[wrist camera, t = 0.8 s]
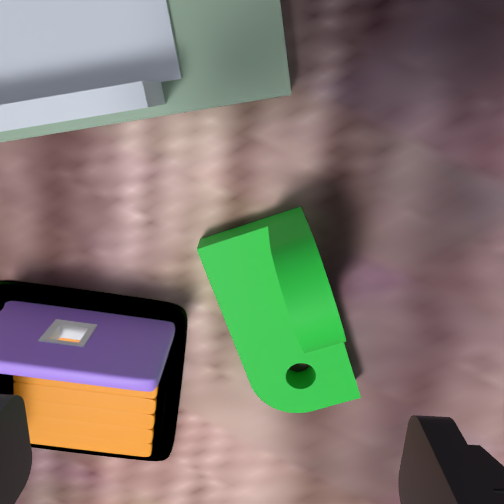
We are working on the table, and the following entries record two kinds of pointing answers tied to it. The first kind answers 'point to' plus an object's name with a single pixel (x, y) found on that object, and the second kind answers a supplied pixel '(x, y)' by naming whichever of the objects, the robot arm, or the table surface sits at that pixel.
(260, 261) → the mechanical part
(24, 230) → the table surface
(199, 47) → the pale green fixture
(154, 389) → the miniature room corner
